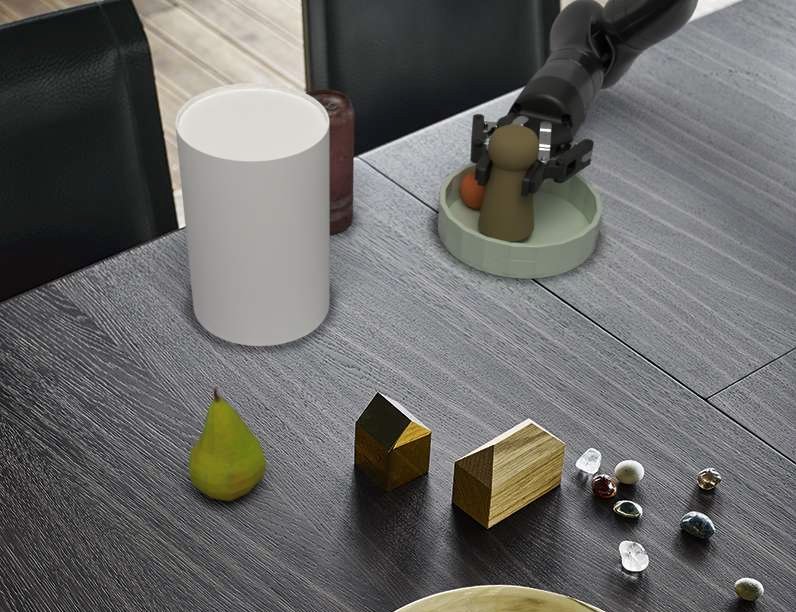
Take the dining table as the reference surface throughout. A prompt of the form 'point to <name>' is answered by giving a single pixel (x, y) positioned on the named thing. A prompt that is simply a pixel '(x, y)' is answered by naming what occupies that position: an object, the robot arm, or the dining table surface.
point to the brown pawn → (509, 184)
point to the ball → (472, 191)
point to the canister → (256, 211)
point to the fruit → (226, 454)
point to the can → (339, 157)
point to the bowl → (539, 252)
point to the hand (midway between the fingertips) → (503, 183)
